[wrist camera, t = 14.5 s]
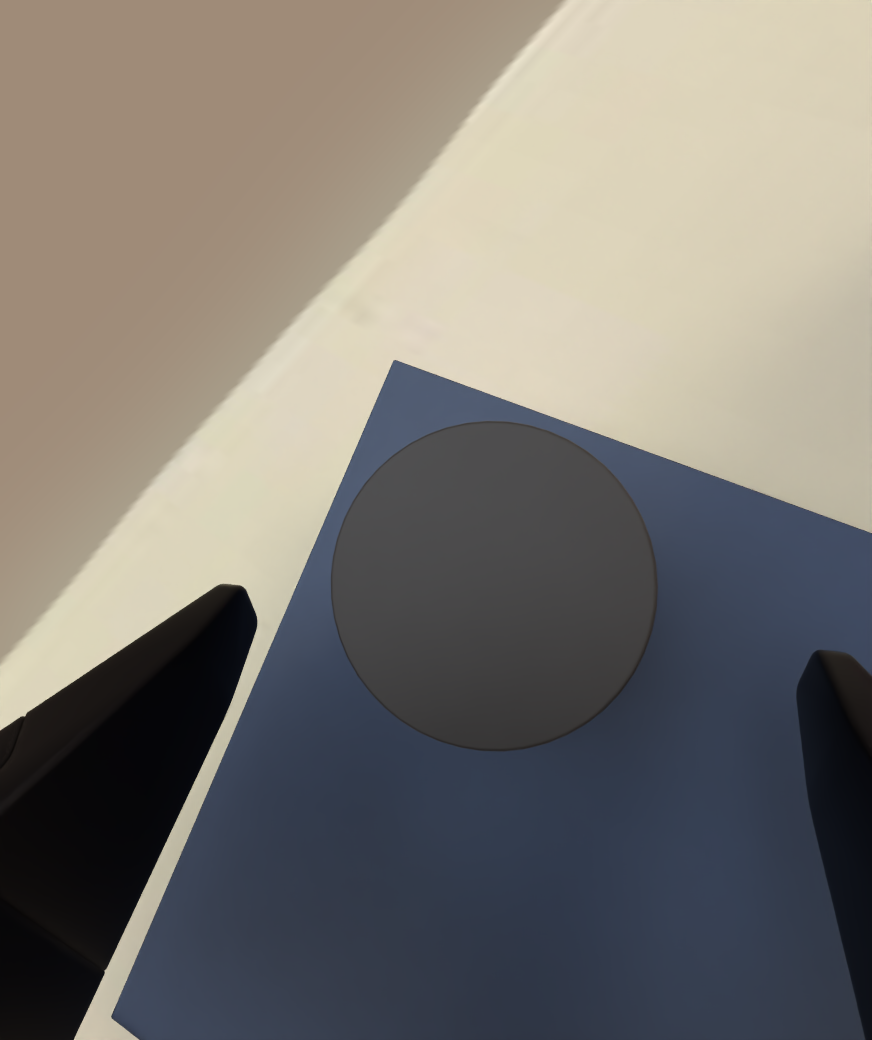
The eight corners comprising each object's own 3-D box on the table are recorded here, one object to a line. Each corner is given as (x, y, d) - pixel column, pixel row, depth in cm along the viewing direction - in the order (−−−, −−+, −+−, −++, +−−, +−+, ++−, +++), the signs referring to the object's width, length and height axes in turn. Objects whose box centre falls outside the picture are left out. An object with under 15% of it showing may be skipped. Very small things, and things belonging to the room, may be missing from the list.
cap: (660, 643, 12) (718, 688, 7) (460, 714, 12) (391, 796, 8) (575, 447, 12) (576, 367, 8) (391, 525, 13) (289, 494, 8)
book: (991, 1448, 12) (1182, 1846, 8) (213, 919, 17) (109, 1018, 13) (1295, 735, 12) (1627, 807, 8) (433, 408, 17) (393, 358, 13)
